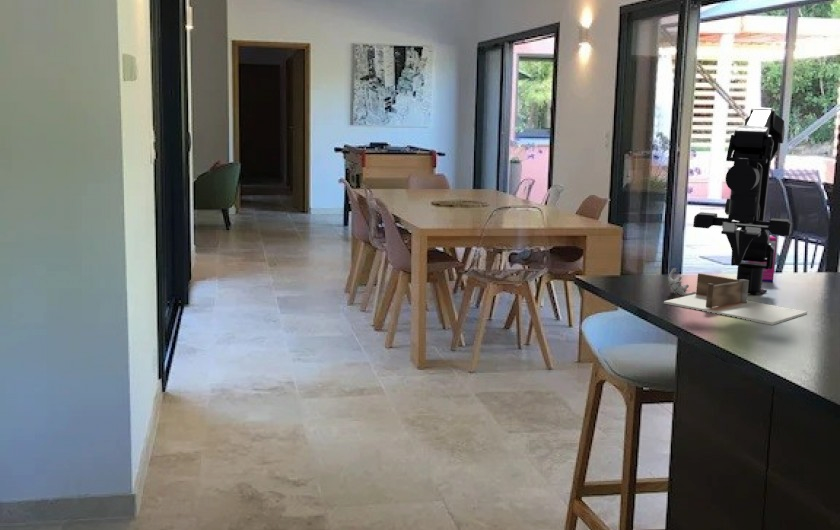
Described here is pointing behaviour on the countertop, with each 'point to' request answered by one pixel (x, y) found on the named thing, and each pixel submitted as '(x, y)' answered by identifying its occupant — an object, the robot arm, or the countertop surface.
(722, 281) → the fence base
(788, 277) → the countertop surface
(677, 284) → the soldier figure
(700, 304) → the card
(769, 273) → the supplement box
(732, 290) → the fence panel
